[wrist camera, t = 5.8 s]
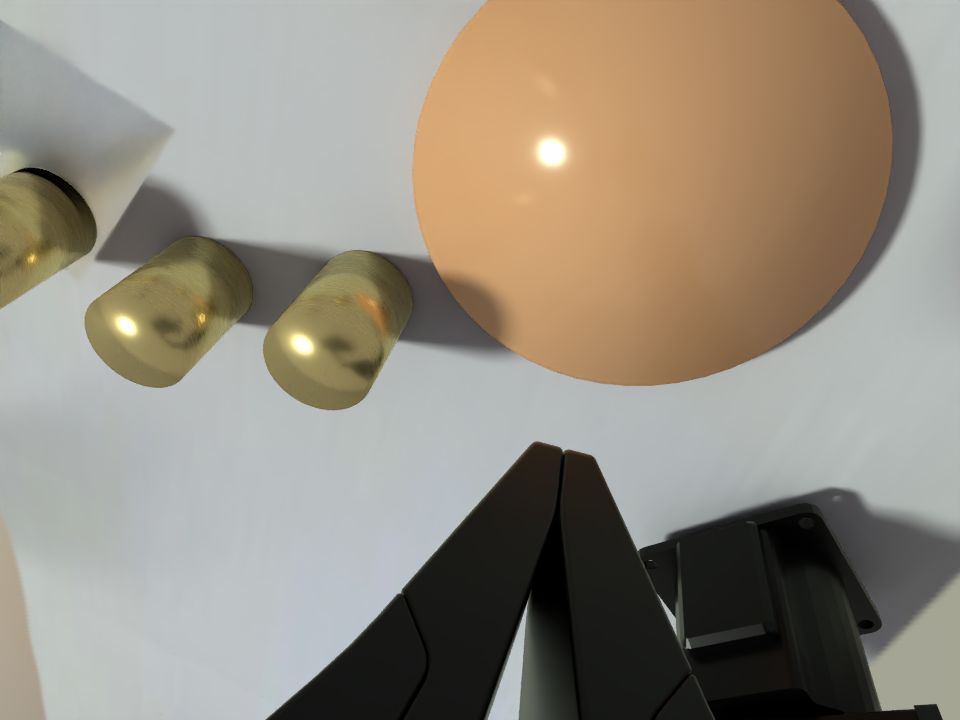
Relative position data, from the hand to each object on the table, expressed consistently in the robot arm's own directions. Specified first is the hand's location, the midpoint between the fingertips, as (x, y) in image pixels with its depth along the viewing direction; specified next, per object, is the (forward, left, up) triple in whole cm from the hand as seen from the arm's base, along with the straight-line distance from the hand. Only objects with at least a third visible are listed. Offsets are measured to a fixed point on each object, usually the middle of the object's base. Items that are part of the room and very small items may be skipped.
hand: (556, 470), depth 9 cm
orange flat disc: (-1, -1, -11) cm, 11 cm away
